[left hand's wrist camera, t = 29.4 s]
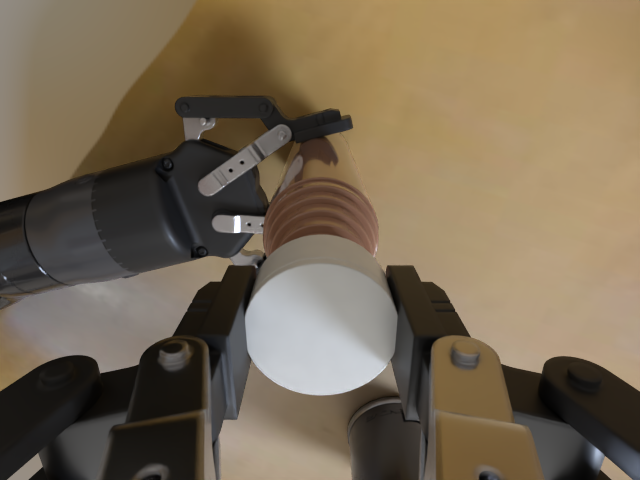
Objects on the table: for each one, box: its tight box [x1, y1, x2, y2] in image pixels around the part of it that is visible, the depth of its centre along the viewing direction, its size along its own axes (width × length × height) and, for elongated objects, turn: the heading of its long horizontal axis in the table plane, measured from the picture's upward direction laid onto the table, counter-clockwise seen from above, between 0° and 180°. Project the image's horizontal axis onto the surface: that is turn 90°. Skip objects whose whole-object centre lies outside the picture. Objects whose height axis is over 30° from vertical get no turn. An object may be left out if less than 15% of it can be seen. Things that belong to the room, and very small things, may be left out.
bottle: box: [263, 133, 379, 258], centre depth 22 cm, size 5×5×24 cm
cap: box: [245, 234, 398, 395], centre depth 11 cm, size 4×4×2 cm
